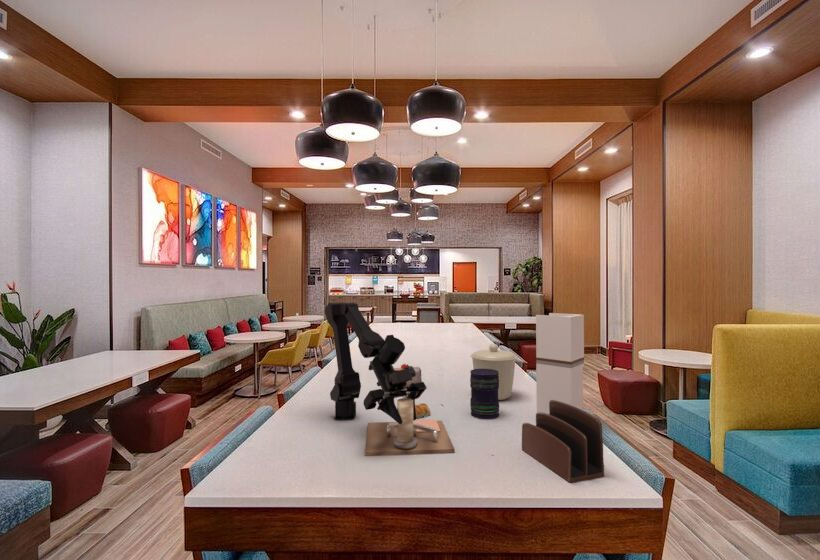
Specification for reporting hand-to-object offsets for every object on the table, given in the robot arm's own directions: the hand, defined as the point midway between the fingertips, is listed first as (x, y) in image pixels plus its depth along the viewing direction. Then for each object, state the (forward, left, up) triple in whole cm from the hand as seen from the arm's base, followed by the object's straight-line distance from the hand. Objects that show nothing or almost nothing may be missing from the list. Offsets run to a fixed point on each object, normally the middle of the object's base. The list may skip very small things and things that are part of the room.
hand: (408, 421), depth 114 cm
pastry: (+5, +30, -8) cm, 31 cm away
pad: (+5, +15, -7) cm, 18 cm away
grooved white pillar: (+51, +19, -8) cm, 55 cm away
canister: (+37, +49, -8) cm, 62 cm away
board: (0, +9, -8) cm, 12 cm away
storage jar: (+28, +28, -8) cm, 41 cm away
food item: (+3, +69, -8) cm, 70 cm away
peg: (-1, +1, -7) cm, 7 cm away
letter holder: (+38, -10, -8) cm, 40 cm away
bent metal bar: (+1, +6, -7) cm, 9 cm away
